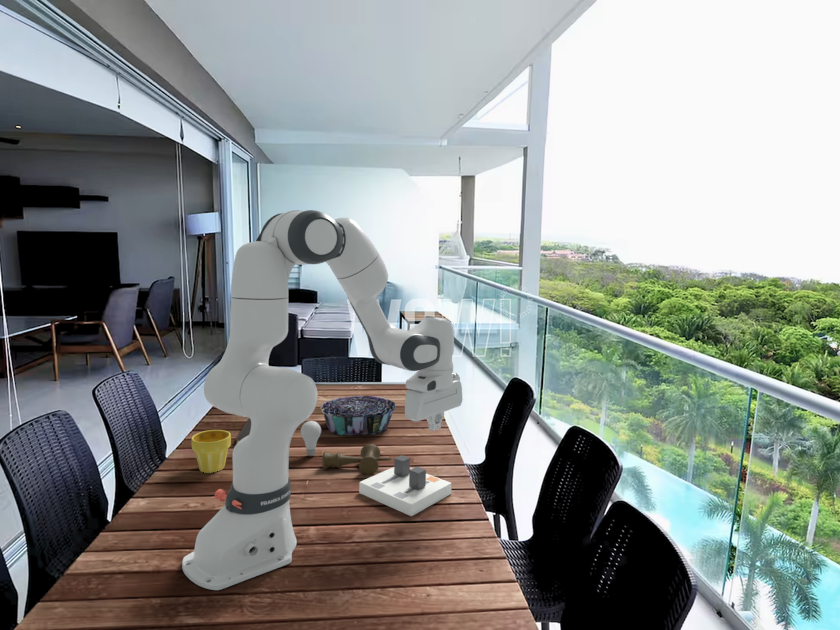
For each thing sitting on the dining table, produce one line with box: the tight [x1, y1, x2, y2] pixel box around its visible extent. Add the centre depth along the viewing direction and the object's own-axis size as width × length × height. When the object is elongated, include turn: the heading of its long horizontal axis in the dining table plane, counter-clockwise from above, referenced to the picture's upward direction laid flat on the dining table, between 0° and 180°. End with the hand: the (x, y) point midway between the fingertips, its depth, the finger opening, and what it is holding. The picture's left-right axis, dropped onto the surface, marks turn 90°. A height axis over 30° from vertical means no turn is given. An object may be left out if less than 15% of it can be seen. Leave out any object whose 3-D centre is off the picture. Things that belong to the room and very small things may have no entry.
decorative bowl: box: [319, 395, 397, 436], centre depth 185 cm, size 26×28×10 cm
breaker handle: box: [393, 455, 411, 477], centre depth 139 cm, size 3×3×4 cm
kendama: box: [321, 443, 392, 476], centre depth 149 cm, size 6×10×20 cm
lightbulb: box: [300, 420, 322, 457], centre depth 157 cm, size 6×6×11 cm
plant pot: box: [191, 429, 232, 474], centre depth 147 cm, size 10×10×10 cm
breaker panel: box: [358, 466, 452, 517], centre depth 134 cm, size 16×18×3 cm
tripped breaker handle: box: [409, 466, 427, 490], centre depth 131 cm, size 3×3×4 cm
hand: (434, 429), depth 135 cm, fingers closed
